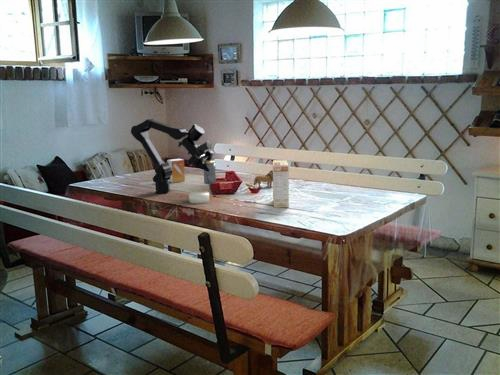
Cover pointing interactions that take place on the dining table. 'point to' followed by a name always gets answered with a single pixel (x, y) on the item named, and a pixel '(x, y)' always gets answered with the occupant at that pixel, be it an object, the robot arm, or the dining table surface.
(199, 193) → the ceramic trivet
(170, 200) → the dining table surface
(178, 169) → the small box
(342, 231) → the dining table surface
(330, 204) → the dining table surface
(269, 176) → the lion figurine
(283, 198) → the coffeecake box
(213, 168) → the grey tin
